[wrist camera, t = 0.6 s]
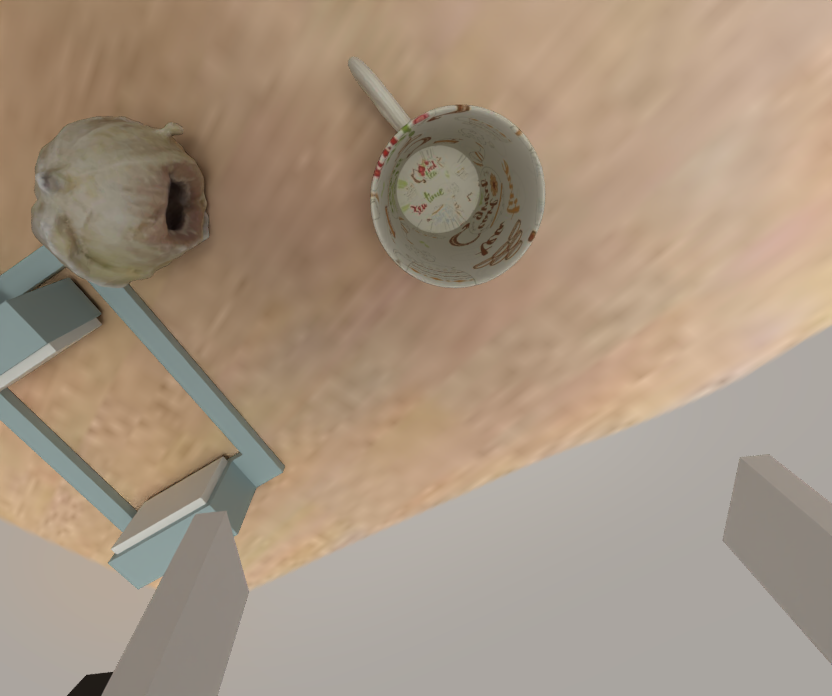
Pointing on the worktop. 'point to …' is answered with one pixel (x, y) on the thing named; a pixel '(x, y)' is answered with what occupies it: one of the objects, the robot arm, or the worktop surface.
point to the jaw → (42, 327)
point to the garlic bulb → (118, 199)
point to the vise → (176, 506)
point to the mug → (453, 190)
